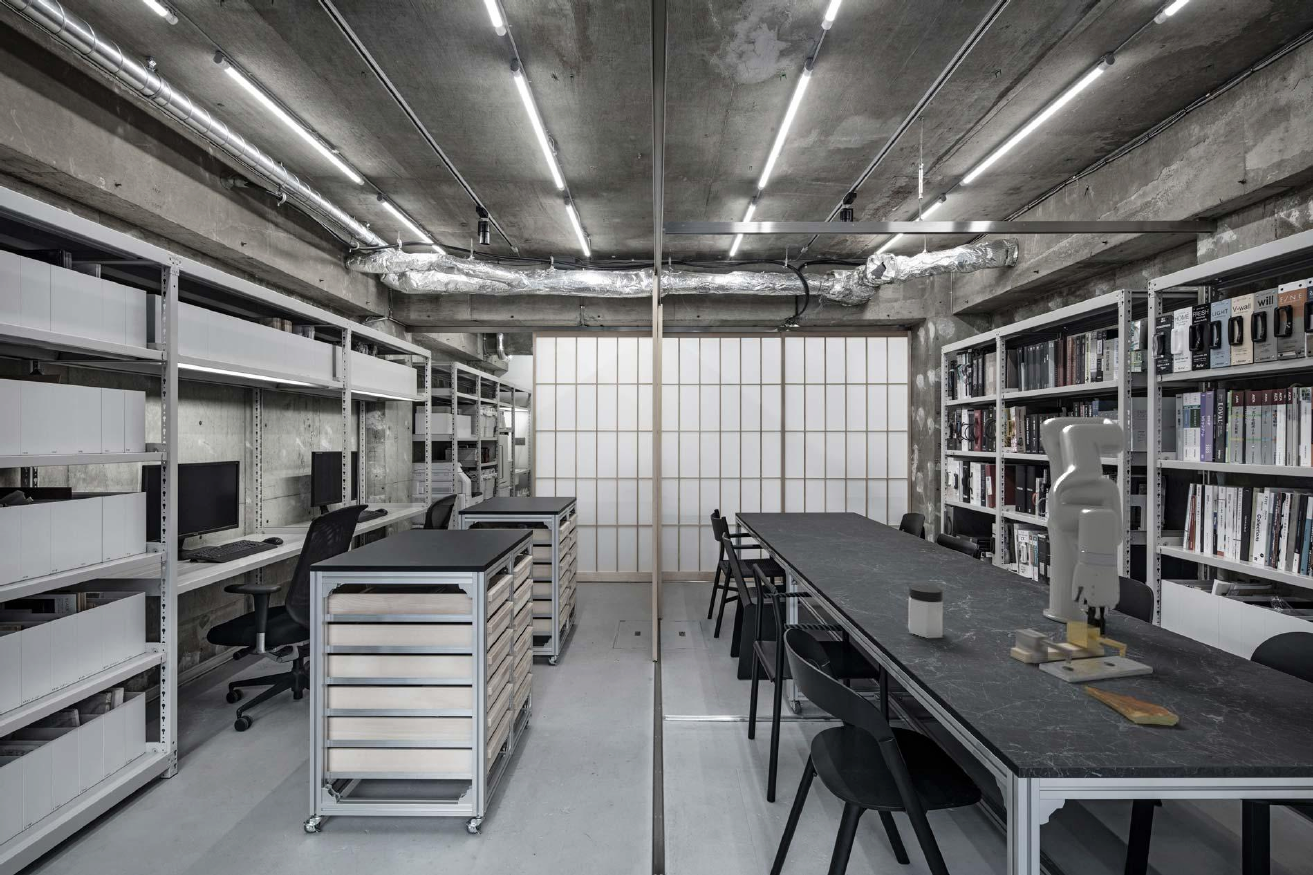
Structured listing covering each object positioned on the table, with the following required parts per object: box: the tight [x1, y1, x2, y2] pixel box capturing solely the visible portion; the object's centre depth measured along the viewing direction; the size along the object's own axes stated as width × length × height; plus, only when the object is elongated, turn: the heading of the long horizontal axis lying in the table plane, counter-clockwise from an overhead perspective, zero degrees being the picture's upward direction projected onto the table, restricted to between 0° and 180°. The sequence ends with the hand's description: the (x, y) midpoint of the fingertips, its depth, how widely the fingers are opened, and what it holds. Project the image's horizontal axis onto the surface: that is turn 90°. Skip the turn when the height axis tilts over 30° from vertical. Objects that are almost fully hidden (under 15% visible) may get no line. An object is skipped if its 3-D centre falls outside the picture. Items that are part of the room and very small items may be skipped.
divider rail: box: [1010, 628, 1105, 664], centre depth 130 cm, size 24×12×6 cm, turn 104°
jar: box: [907, 584, 944, 639], centre depth 148 cm, size 9×8×12 cm
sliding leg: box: [1066, 621, 1128, 658], centre depth 132 cm, size 4×12×5 cm, turn 14°
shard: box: [1083, 684, 1180, 727], centre depth 107 cm, size 13×9×2 cm
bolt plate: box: [1038, 655, 1154, 683], centre depth 125 cm, size 24×7×1 cm, turn 104°
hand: (1096, 633), depth 136 cm, fingers closed
